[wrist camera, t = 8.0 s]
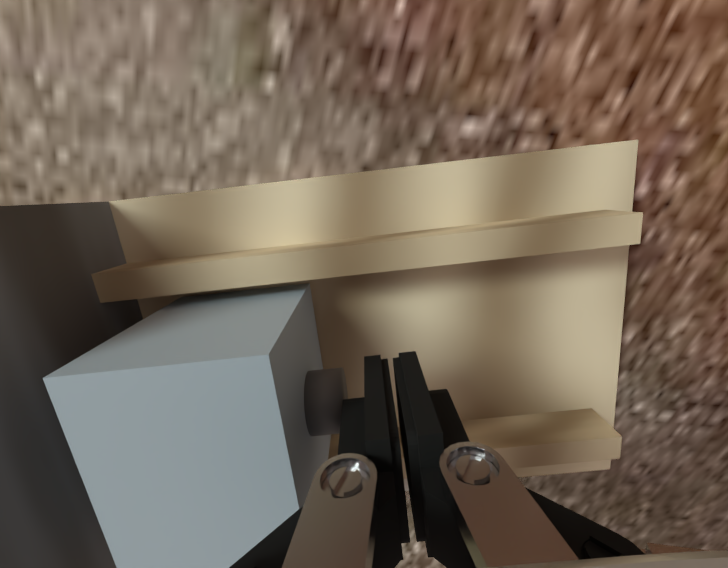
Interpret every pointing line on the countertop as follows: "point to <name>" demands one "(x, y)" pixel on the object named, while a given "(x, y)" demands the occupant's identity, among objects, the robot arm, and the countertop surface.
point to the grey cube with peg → (201, 425)
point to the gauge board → (337, 305)
